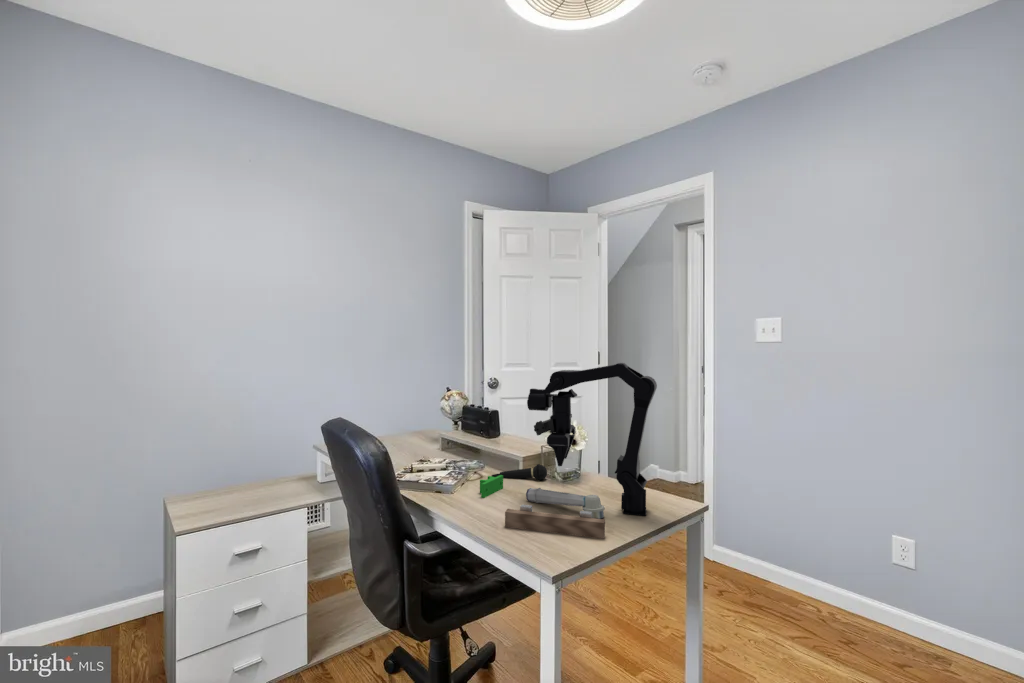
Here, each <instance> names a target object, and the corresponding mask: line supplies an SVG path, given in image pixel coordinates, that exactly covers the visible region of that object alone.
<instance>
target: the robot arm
mask: <svg viewBox="0 0 1024 683" xmlns="http://www.w3.org/2000/svg"><path fill="white" fill-rule="evenodd" d="M612 378H620V379H621V380H622V381H623V382H624V383H626V384H627V385H628V386H629V387H630V388H632V389H633V403H634V405H633V407H634V408H633V412H632V417H631V418H632V419H631V423H630V428H629V433H628V437H627V445H626V448H625V452H624V455H622V454H620V456H619V457H618V459H617V461H616V469H615V471H614V474H616V475H615V476H616V478H615V479H616V481H618V483H619V484H620V486H622V489H623V492H622V493H621V506H620V507H621V510H622V514H624V515H631V516H632V515H633V516H642V517H643V516H644V517H646V516H647V489H646V488H645V487H646V485H647V482H648V480H647V479H646V478H645V477H644V476H643V475H642V474H641V472H640V471H641V470H640V468H641V466H640V462H641V461H640V460H641V459H640V451H641V446H642V442H643V436H644V432H645V426H646V421H647V417H648V416H647V415H648V410H649V408H650V406H651V403H652V401H653V398H654V395H655V393H656V391H657V388H658V384H657V382H656V379H654V378H653V377H652V376H648V375H643V374H642V373H640V372H639V371H637V370H635V369H633V368H631V367H630V366H628V365H627V364H626V363H625V362H617V363H615V364H610V365H605V366H598V367H594V368H589V369H582V370H577V369H576V370H575V369H573V370H572V369H571V370H570V369H568V370H566V369H564V370H563V369H562V370H558V371H554V372H553V373H552V374H551V375H550V377H549V382H548V384H547V385H546V386H545V388H544V389H539V388H530V389H529V393H528V396H527V400H526V405H527V409H528V410H529V411H541V412H548V410H549V409H550V408H552V409H551V410H552V411H551V415H550V416H549V419H546V420H543V421H542V420H540V421H536V422H535V424H534V425H533V431H534V433H535V434H536V436H541V435H542V434H545V433H548V432H550V434H549V435H548V436H547V437H546V445H548V447H550V448H551V449H552V450H553V451H554V455H555V459H556V462H557V466H558V467H562V466H563V464H564V461H565V460H566V459H567V457H568V456H569V455H568V454H569V452H570V450H571V447H572V444H573V441H574V439H575V437H576V431H577V430H576V426H575V425H573V424H572V418H573V414H572V409H571V408H572V402H571V401H572V398H576V397H578V394H577V393H576V392H575V391H574V390H573V389H572V388H571V387H573V386H576V385H578V384H581V383H587V382H593V381H594V382H595V381H599V380H600V381H601V380H606V379H612ZM568 388H570V389H569V390H568V391H565V389H568ZM562 390H564V391H562ZM557 391H558V392H557ZM555 392H557V393H555ZM554 393H555V394H554Z"/></svg>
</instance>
